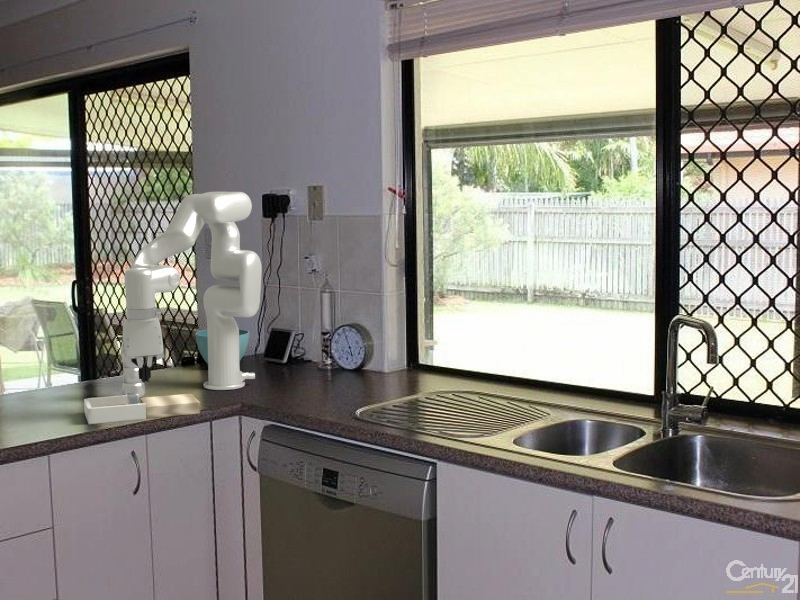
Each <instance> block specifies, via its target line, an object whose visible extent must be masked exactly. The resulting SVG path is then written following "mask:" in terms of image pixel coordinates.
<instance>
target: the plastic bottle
mask: <svg viewBox="0 0 800 600" xmlns="http://www.w3.org/2000/svg"><path fill="white" fill-rule="evenodd" d="M119 350H120V355H121V360H122V361H121V362H122V367H123V368H122V369H123V374H122V376H123V377H122V385H121V393H122V395H127V393H134V392H135V393H136V394H139V398H143V397H144V395H145V393H146V385H145V382H142V381H141V379H139V372H138V366H136V365H135V364H134V363H132V362H125V361H124V360H123V356H124V352H123V343H122V344H121V345H120V349H119ZM134 358H135V357H134ZM141 360H142V361H143V357H141Z"/></svg>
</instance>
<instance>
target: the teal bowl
mask: <svg viewBox="0 0 800 600" xmlns="http://www.w3.org/2000/svg"><path fill="white" fill-rule="evenodd" d="M238 329H239V363H240V362H241V360H242V359H243V357H244V355H245V353H246V350H247V348H248V344H249V339H250V331H249V330H246V329H242V328H238ZM195 340H196V345H197V349H198V351H199V353H200V355H201V356H202V358H203V360H204V362H205V363H206V364H207V365H208V329H203V330H199V331H197V332H195Z"/></svg>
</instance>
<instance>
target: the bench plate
mask: <svg viewBox="0 0 800 600" xmlns="http://www.w3.org/2000/svg"><path fill="white" fill-rule="evenodd" d="M139 402H140V404H141V403H145V404H146V419H153V418H164V417H174V416H176V417H177V416H184V415H197V414H201V402H200V401H199V399H197V398H196V397H195V396H194V395H193V393H182V394H171V395H170V394H169V395H160V396H147V397H139Z"/></svg>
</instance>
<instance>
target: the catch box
mask: <svg viewBox="0 0 800 600" xmlns="http://www.w3.org/2000/svg"><path fill="white" fill-rule="evenodd" d="M136 395H137V397H138V404H130V405H128V401H127V395H123V394H122V395H110V396H100V397H88V398H86V397H85V398H83V410H84V416H85V419H86V421H87V423H88V425H93V424H94V425H95V424H103V423H104V424H105V423H106V424H107V423H116V422H126V421H135V420H136V421H138V420H145V419H147V417H146V404H145V403H141V404H140V397H139V394H136ZM119 404H126V405H119ZM108 405H118V406H108ZM106 406H107V407H106Z"/></svg>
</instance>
